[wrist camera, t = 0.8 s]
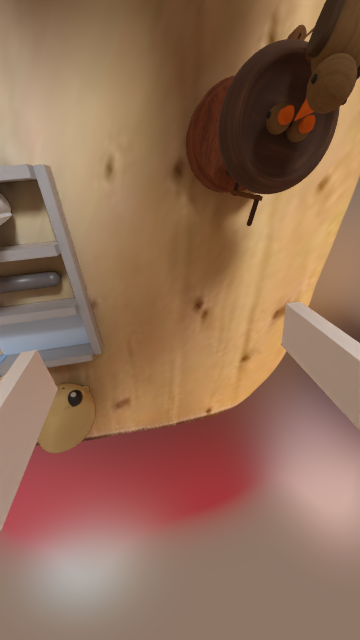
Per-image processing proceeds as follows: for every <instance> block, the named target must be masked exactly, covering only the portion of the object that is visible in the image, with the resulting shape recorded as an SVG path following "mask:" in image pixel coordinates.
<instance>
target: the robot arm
mask: <svg viewBox="0 0 360 640" xmlns="http://www.w3.org/2000/svg"><path fill="white" fill-rule="evenodd" d="M281 345H282V346H283V347H284V348H285V350H286V351H287V352H288V353H289V354H290V355H291V356H292V357H293V358H294V359H295V360H296V361H297V363H298V364H299V365H300V366H301V367H302V368H303V369H304V370H305V371H306V372H307V373H308V375H309V376H310V377H311V378H312V379H313V380H314V381H315V382H316V383H317V384H318V385H319V387H320V388H321V389H322V390H323V391H324V392H325V393H326V394H327V395H328V396H329V397H330V398H331V400H332V401H333V402H334V403H335V404H336V405H337V406H338V407H339V408H340V409H341V410H342V412H343V413H344V414H345V415H346V416H347V417H348V418H349V419H350V420H351V421H352V423H353V424H354V425H355V426H356V427H357V428H358V429H359V430H360V343H358V342H357V341H356V340H354V339H353V338H351V337H350V336H348V335H347V334H346V333H344V332H343V331H341V330H340V329H338V328H337V327H335V326H334V325H332V324H331V323H329V322H328V321H327V320H325V319H324V318H322V317H321V316H320V315H318V314H317V313H316V312H314V311H312V310H311V309H310V308H308V307H307V306H305V305H304V304H303V303H301V302H300V301H299V302H294V303H288V304H286V310H285V318H284V327H283V335H282V344H281ZM57 390H58V388H57V386H56V385H55V383H54V381H53V379H52V377H51V375H50V373H49V371H48V369H47V368H46V366H45V364H44V362H43V360H42V358H41V356H40V354H39V352H38V351H37V350H32V351H26V352H21V353H20V355H19V356H18V358H17V359H16V360H15V362H14V363H13V365H12V366H11V367H10V369H9V370H8V372H7V373H6V374H5V376H4V377H3V379H2V380H1V381H0V532H1V529H2V527H3V524H4V521H5V519H6V516H7V514H8V512H9V509H10V507H11V504H12V502H13V499H14V497H15V494H16V492H17V489H18V487H19V484H20V482H21V479H22V477H23V474H24V472H25V469H26V467H27V464H28V462H29V459H30V457H31V454H32V452H33V449H34V447H35V444H36V442H37V440H38V437H39V435H40V432H41V430H42V427H43V425H44V422H45V420H46V417H47V415H48V412H49V410H50V407H51V405H52V402H53V400H54V397H55V395H56V392H57Z"/></svg>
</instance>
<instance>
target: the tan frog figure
mask: <svg viewBox="0 0 360 640" xmlns="http://www.w3.org/2000/svg"><path fill="white" fill-rule="evenodd" d="M55 385H56V386H57V388H58V390H57V392H56V395H55V397H54V400H53V402H52V405H51V407H50V410H49V412H48V415H47V417H46V420H45V422H44V425H43V427H42V430H41V432H40V435H39V437H38V442H39V444H40V445H41V447H42V448H43V449H44V450H45V451H47V452H50V453H61V452H65V451H67V450H70V449H71V448H73V447H75V446H76V445H78V444H79V443H80V442H81V441H82V440H83V439H84V438H85V437H86V436H87V434H88V433H89V431H90V430H91V428H92V425H93V423H94V419H95V414H96V409H95V403H94V400H93V398H92V396H91V394H90V393H89V387H88V386H83V387H82V386H79V385H77V384H72V383H63V384H55Z"/></svg>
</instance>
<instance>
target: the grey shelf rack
mask: <svg viewBox="0 0 360 640" xmlns="http://www.w3.org/2000/svg"><path fill="white" fill-rule="evenodd" d="M27 180H37V181H38V184H39V187H40V190H41V193H42V196H43V200H44V203H45V206H46V209H47V212H48V215H49V218H50V221H51V224H52V227H53V230H54V233H55V237H56V240H57V241H52V242H43V243H34V244H25V245H15V246H6V247H0V262H8V261H16V260H25V259H34V258H43V257H52V256H58V255H59V254H60V253H61V255H62V258H63V261H64V264H65V267H66V270H67V273H68V277H69V280H70V283H71V286H72V289H73V292H74V295H75V298H68V299H61V300H53V301H46V302H38V303H30V304H23V305H15V306H7V307H0V349H1V351H2V353H3V355H0V377H1V376H2V375H4V374H6V373H7V372H8V370H9V369H10V367H11V366H12V365H13V363H14V362H15V360H16V359H17V358H18V356H19V355H20V353H21V352H26V351H32V350H37V351H38V352H39V354H40V356H41V358H42V360H43V362H44V364H45V366H46V368H49V367H55V366H62V365H68V364H75V363H81V362H87V361H92V360H93V357H94V355H97V354H102V349H103V345H102V341H101V338H100V335H99V331H98V328H97V324H96V321H95V318H94V314H93V311H92V307H91V304H90V301H89V297H88V294H87V290H86V287H85V284H84V280H83V277H82V273H81V270H80V267H79V263H78V260H77V256H76V253H75V250H74V246H73V243H72V239H71V236H70V233H69V229H68V226H67V223H66V219H65V216H64V212H63V209H62V206H61V202H60V199H59V195H58V192H57V189H56V185H55V182H54V178H53V175H52V172H51V168H50V166H47V165H34V166H32V165H28V164H24V165H11V166H0V183H3V182H15V181H27ZM60 281H61V278H60V276H59V275H58V274H57V273H56V272H44V273H35V274H27V275H19V276H10V277H2V278H0V293H5V292H13V291H21V290H29V289H36V288H44V287H52V286H57V285H58V284H59V283H60Z"/></svg>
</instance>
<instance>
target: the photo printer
mask: <svg viewBox="0 0 360 640" xmlns="http://www.w3.org/2000/svg"><path fill="white" fill-rule="evenodd" d="M11 216H12V214H11V208H10V205H9V203H8V201H7V200H6V198H5V197H4V196H3V195H2V194H1V193H0V225H1V224H3V223H4V222H6V221H7V220H8V219H9V218H10V217H11Z"/></svg>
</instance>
